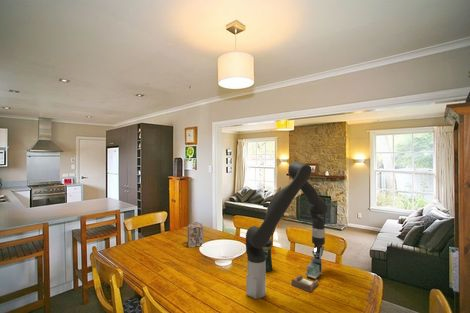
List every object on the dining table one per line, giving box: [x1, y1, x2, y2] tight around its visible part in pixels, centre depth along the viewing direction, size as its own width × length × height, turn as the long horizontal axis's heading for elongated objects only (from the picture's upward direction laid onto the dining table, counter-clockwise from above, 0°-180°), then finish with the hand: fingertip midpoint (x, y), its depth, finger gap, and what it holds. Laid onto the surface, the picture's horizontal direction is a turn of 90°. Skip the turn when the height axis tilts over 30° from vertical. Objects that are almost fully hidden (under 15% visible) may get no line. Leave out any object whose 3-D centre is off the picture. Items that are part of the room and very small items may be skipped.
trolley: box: [305, 256, 323, 281], centre depth 136 cm, size 9×6×9 cm, turn 139°
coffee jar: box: [263, 238, 273, 272], centre depth 146 cm, size 10×8×19 cm
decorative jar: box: [186, 221, 205, 248], centre depth 187 cm, size 12×12×18 cm
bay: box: [291, 274, 319, 293], centre depth 127 cm, size 11×10×3 cm
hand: (318, 263), depth 142 cm, fingers closed
